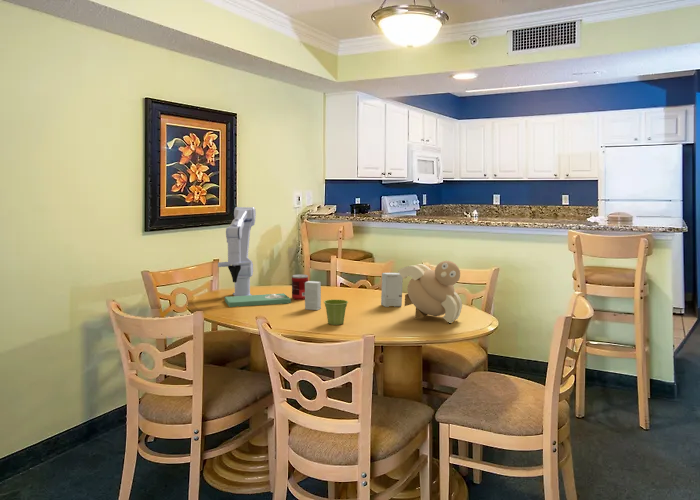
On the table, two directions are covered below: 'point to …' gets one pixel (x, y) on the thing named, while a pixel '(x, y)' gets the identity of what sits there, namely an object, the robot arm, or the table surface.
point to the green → (256, 300)
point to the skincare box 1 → (312, 295)
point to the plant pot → (335, 311)
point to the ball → (273, 296)
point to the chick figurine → (433, 290)
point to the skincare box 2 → (391, 289)
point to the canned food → (299, 286)
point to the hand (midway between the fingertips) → (234, 282)
